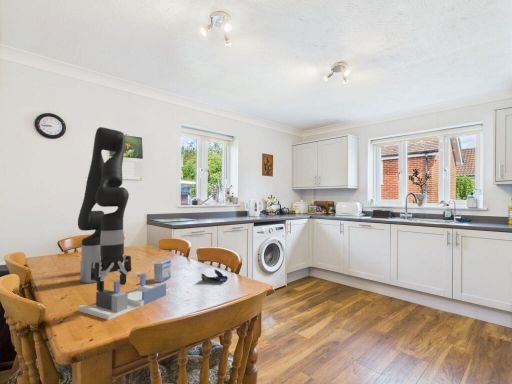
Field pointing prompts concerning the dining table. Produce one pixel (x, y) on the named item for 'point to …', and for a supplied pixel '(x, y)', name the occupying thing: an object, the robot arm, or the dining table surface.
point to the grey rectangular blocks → (112, 300)
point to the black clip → (215, 279)
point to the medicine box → (162, 271)
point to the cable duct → (129, 299)
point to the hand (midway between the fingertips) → (112, 288)
